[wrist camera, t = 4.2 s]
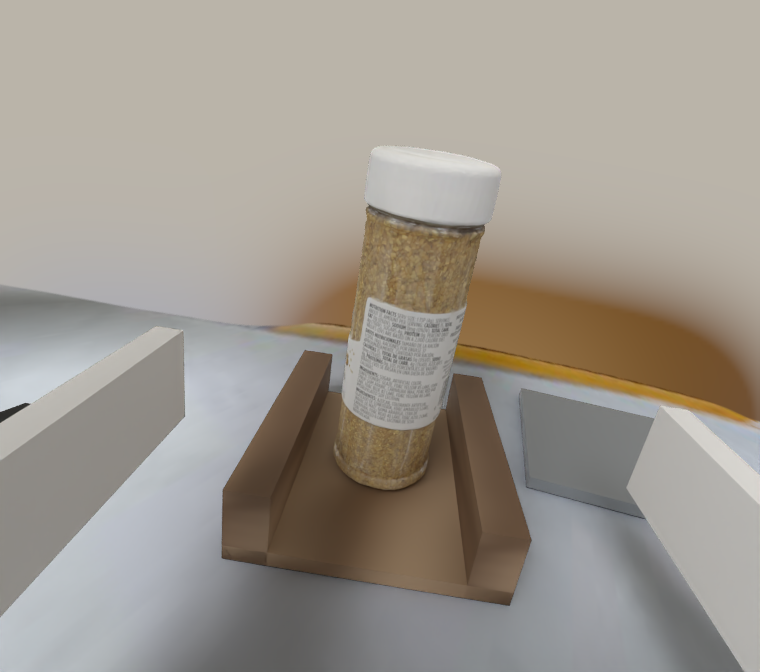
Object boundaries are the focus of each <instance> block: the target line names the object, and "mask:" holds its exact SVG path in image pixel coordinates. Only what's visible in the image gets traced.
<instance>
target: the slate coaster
mask: <svg viewBox="0 0 760 672" xmlns="http://www.w3.org/2000/svg"><path fill="white" fill-rule="evenodd" d="M519 401H520V413H521V426H522V438H523V450H524V462H525V474H526V487H528V488H532V489H536V490H540V491H543V492H547V493H551V494H555V495H558V496H562V497H566V498H570V499H573V500H577V501H581V502H585V503H588V504H592V505H596V506H600V507H603V508H607V509H611V510H615V511H618V512H622V513H626V514H630V515H633V516H637V517H641V518H645V516H644V515H643V513H642V512H641V510H640V509H639V507H638V505H637V504H636V502H635V501H634V499H633V498H632V496H631V495H630V493H629V491H628V490H627V488H626V487H627V485H628V483H629V480H630V478H631V475H632V473H633V470H634V468H635V466H636V463H637V461H638V458H639V456H640V453H641V451H642V449H643V446H644V444H645V441H646V439H647V436H648V434H649V432H650V429H651V427H652V424H653V422H654V418H649V417H645V416H640V415H636V414H632V413H627V412H623V411H619V410H614V409H610V408H605V407H601V406H597V405H592V404H588V403H584V402H579V401H575V400H570V399H566V398H562V397H557V396H553V395H549V394H544V393H540V392H536V391H531V390H527V389H522V388H521V391H520V394H519ZM645 519H646V518H645Z"/></svg>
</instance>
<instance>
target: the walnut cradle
mask: <svg viewBox="0 0 760 672" xmlns="http://www.w3.org/2000/svg"><path fill="white" fill-rule="evenodd" d="M331 363H332V354H326V353H320V352H313V351H307V350H305V351H304V353H303V354H302V356H301V358H300V359H299V361H298V363H297V365H296V366H295V368H294V370H293V371H292V373H291V375H290V376H289V378H288V380H287V382H286V383H285V385H284V387H283V388H282V390H281V392H280V393H279V395H278V397H277V399H276V400H275V402H274V404H273V405H272V407H271V409H270V410H269V412H268V414H267V416H266V417H265V419H264V421H263V422H262V424H261V426H260V427H259V429H258V431H257V433H256V434H255V436H254V438H253V439H252V441H251V443H250V444H249V446H248V448H247V450H246V451H245V453H244V455H243V456H242V458H241V460H240V461H239V463H238V465H237V467H236V468H235V470H234V472H233V473H232V475H231V477H230V478H229V480H228V482H227V484H226V485H225V487H224V489H223V505H222V558H223V559H229V560H235V561H241V562H247V563H253V564H260V565H266V566H272V567H278V568H284V569H290V570H296V571H302V572H308V573H314V574H320V575H326V576H332V577H339V578H345V579H351V580H357V581H363V582H369V583H375V584H381V585H387V586H393V587H399V588H405V589H411V590H418V591H424V592H430V593H436V594H442V595H448V596H454V597H460V598H466V599H472V600H478V601H484V602H490V603H497V604H503V605H509V606H510V603H511V600H512V597H513V594H514V591H515V588H516V585H517V582H518V579H519V576H520V573H521V570H522V567H523V564H524V561H525V558H526V555H527V552H528V549H529V546H530V543H531V537H530V533H529V530H528V527H527V524H526V520H525V517H524V514H523V511H522V507H521V504H520V501H519V498H518V494H517V491H516V488H515V485H514V482H513V478H512V475H511V472H510V469H509V465H508V462H507V459H506V456H505V452H504V449H503V446H502V443H501V439H500V436H499V433H498V430H497V426H496V423H495V420H494V417H493V413H492V410H491V407H490V404H489V400H488V397H487V394H486V391H485V388H484V384H483V381H482V378H480V377H474V376H467V375H461V374H455V373H454V374H453V378H452V383H451V388H450V392H449V397H448V401H447V406H446V410H444V409H441V410H440V413H439V415H438V417H437V418H436V422H435V426H434V429H433V433H432V438H431V442H430V445H429V450H428V452H429V461H428V466H427V469H426V471H425V474H424V475H423V476H422V477H421V478H420V479H419V480H417V481H416V482H415V483H414V484H411V485H409V486H407V487H404V488H401V489H397V490H382V489H377V488H373V487H370V486H367V485H363V484H360V483H358V482H356V481H354V480H353V479H352V478H350V477H348V476H347V475H346V474H345V473H344V472H343V471H342V470H341V469H340V467H339V466H338V464H337V462H336V459H335V457H334V454H333V447H334V442H335V439H336V435H337V433H338V427H339V418H340V412H341V405H342V393H336V392H329V382H330V373H331Z"/></svg>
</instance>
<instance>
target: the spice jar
mask: <svg viewBox="0 0 760 672" xmlns="http://www.w3.org/2000/svg"><path fill="white" fill-rule="evenodd" d="M500 180H501V171H500V169H499V168H498V167H497V166H496V165H493V164H491V163H488V162H485V161H481V160H479V159H476V158H472V157H468V156H464V155H458V154H453V153H448V152H443V151H436V150H430V149H422V148H415V147H405V146H379V147H376V148H374V149H373V150H372V151H371V154H370V159H369V165H368V171H367V179H366V187H365V195H364V199H365V201H366V202H367V204H368V205H369V207H367V208H366V214H367V221H366V224H365V235H364V242H363V249H362V257H361V263H360V271H359V276H358V284H357V293H356V299H355V306H354V310H353V316H352V327H351V331H350V334H349V339H348V347H347V354H346V362H345V369H344V376H343V384H342V405H341V412H340V418H339V427H338V433H337V435H336V439H335V442H334V447H333V454H334V457H335V459H336V462H337V464H338V466H339V467H340V469H341V470H342V471H343V472H344V473H345V474H346V475H347V476H348V477H350V478H352V479H353V480H354V481H356V482H358V483H360V484H363V485H367V486H370V487H373V488H377V489H382V490H397V489H401V488H404V487H407V486H409V485H411V484H414V483H415V482H416V481H417V480H419V479H420V478H421V477H422V476H423V475H424V474H425V471H426V469H427V466H428V461H429V452H428V450H429V445H430V442H431V438H432V433H433V429H434V426H435V422H436V418H437V417H438V415H439V413H440V410H441V406H442V402H443V398H444V394H445V390H446V386H447V382H448V378H449V374H450V370H451V366H452V362H453V358H454V354H455V350H456V346H457V342H458V338H459V334H460V330H461V326H462V322H463V318H464V314H465V310H466V306H467V293H468V291H469V285H470V281H471V278H472V274H473V269H474V264H475V261H476V258H477V253H478V249H479V244H480V239H481V237H482V236H483V234H484V231H485V226H484V225H485V224H486V223H488V222H489V221H490V220H491V219H492V215H493V211H494V206H495V202H496V199H497V194H498V190H499V184H500Z"/></svg>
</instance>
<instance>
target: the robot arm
mask: <svg viewBox="0 0 760 672" xmlns="http://www.w3.org/2000/svg"><path fill="white" fill-rule="evenodd" d="M184 417H185V391H184V342H183V330H178V329H172V328H166V327H159V326H155V327H154V328H152V329H151V330H149V331H147V332H146V333H144V334H142V335H141V336H139V337H138V338H136V339H134V340H133V341H131V342H130V343H128V344H126V345H125V346H123V347H122V348H120V349H118V350H117V351H115V352H114V353H112V354H110V355H109V356H107V357H106V358H104V359H102V360H101V361H99V362H98V363H96V364H94V365H93V366H91V367H89V368H88V369H86V370H85V371H83V372H81V373H80V374H78V375H77V376H75V377H73V378H72V379H70V380H69V381H67V382H65V383H64V384H62V385H61V386H59V387H57V388H56V389H54V390H53V391H51V392H49V393H48V394H46V395H45V396H43V397H41V398H40V399H38V400H36V401H35V402H33V403H32V404H29V403H24V404H21V405H19V406H16V407H13V408H10V409H7V410H5V411H2V412H0V617H1V616H2V615H3V614H4V613H5V611H6V610H7V609H8V608H9V607H10V606H11V605H12V604H13V603H14V602H15V601H16V599H17V598H18V597H19V596H20V595H21V594H22V593H23V592H24V591H25V590H26V589H27V587H28V586H29V585H30V584H31V583H32V582H33V581H34V580H35V579H36V578H37V577H38V576H39V574H40V573H41V572H42V571H43V570H44V569H45V568H46V567H47V566H48V565H49V564H50V562H51V561H52V560H53V559H54V558H55V557H56V556H57V555H58V554H59V553H60V552H61V551H62V549H63V548H64V547H65V546H66V545H67V544H68V543H69V542H70V541H71V540H72V539H73V537H74V536H75V535H76V534H77V533H78V532H79V531H80V530H81V529H82V528H83V527H84V526H85V524H86V523H87V522H88V521H89V520H90V519H91V518H92V517H93V516H94V515H95V514H96V512H97V511H98V510H99V509H100V508H101V507H102V506H103V505H104V504H105V503H106V502H107V501H108V499H109V498H110V497H111V496H112V495H113V494H114V493H115V492H116V491H117V490H118V489H119V487H120V486H121V485H122V484H123V483H124V482H125V481H126V480H127V479H128V478H129V477H130V476H131V474H132V473H133V472H134V471H135V470H136V469H137V468H138V467H139V466H140V465H141V464H142V462H143V461H144V460H145V459H146V458H147V457H148V456H149V455H150V454H151V453H152V452H153V450H154V449H155V448H156V447H157V446H158V445H159V444H160V443H161V442H162V441H163V440H164V439H165V437H166V436H167V435H168V434H169V433H170V432H171V431H172V430H173V429H174V428H175V427H176V425H177V424H178V423H179V422H180V421H181V420H182V419H183V418H184ZM626 488H627V490H628V491H629V493H630V495H631V496H632V498H633V499H634V501H635V502H636V504H637V505H638V507H639V509H640V510H641V512H642V513H643V515H644V516H645V518H646V519H647V521H648V523H649V524H650V526H651V527H652V529H653V530H654V532H655V534H656V535H657V537H658V538H659V540H660V541H661V543H662V544H663V546H664V548H665V549H666V551H667V552H668V554H669V555H670V557H671V558H672V560H673V562H674V563H675V565H676V566H677V568H678V569H679V571H680V572H681V574H682V576H683V577H684V579H685V580H686V582H687V583H688V585H689V586H690V588H691V590H692V591H693V593H694V594H695V596H696V597H697V599H698V601H699V602H700V604H701V605H702V607H703V608H704V610H705V611H706V613H707V615H708V616H709V618H710V619H711V621H712V622H713V624H714V625H715V627H716V629H717V630H718V632H719V633H720V635H721V636H722V638H723V639H724V641H725V643H726V644H727V646H728V647H729V649H730V650H731V652H732V654H733V655H734V657H735V658H736V660H737V661H738V663H739V664H740V666H741V668H742V669H743V671H744V672H760V475H759V474H758V473H757V472H756V471H755V470H754V469H753V468H751V467H750V466H749V465H748V464H747V463H746V462H745V461H744V460H743V459H742V458H741V457H739V456H738V455H737V454H736V453H735V452H734V451H733V450H732V449H731V448H730V447H728V446H727V445H726V444H725V443H724V442H723V441H722V440H721V439H720V438H719V437H718V436H716V435H715V434H714V433H713V432H712V431H711V430H710V429H709V428H708V427H707V426H705V425H704V424H703V423H702V422H701V421H700V420H699V419H698V418H697V417H696V416H694V415H693V414H692V413H691V412H690V411H689V410H684V409H678V408H672V407H665V406H660V407H659V410H658V412H657V415H656V417H655V419H654V422H653V424H652V427H651V429H650V432H649V434H648V436H647V439H646V441H645V444H644V446H643V449H642V451H641V453H640V456H639V458H638V461H637V463H636V466H635V468H634V470H633V473H632V475H631V478H630V480H629V483H628V485H627V487H626Z"/></svg>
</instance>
